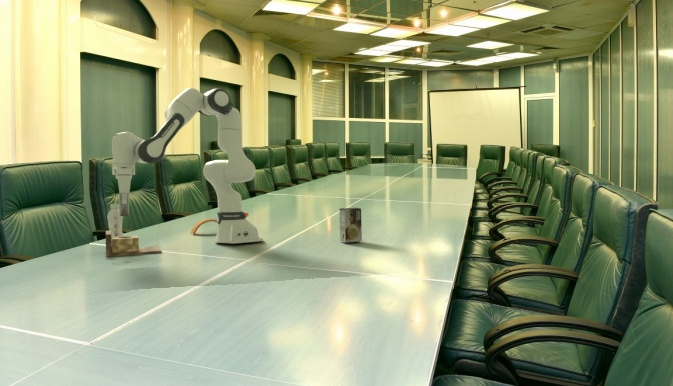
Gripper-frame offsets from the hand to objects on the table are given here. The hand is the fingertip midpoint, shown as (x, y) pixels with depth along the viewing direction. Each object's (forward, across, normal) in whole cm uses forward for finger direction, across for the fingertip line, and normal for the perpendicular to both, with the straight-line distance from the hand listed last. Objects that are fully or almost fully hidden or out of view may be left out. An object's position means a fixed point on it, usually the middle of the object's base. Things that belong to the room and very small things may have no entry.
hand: (124, 203), depth 206 cm
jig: (+21, 0, +3) cm, 21 cm away
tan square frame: (+20, 0, 0) cm, 20 cm away
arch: (+21, -38, +42) cm, 60 cm away
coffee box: (+21, +11, +100) cm, 103 cm away
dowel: (+5, 0, 0) cm, 5 cm away
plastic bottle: (+21, -18, -4) cm, 28 cm away
